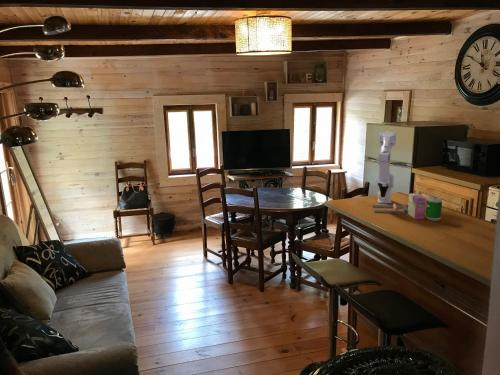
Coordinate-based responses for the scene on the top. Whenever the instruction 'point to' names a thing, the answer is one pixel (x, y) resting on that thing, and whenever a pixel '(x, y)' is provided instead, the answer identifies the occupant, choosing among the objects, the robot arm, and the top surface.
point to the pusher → (394, 207)
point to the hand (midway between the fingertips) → (382, 196)
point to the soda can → (434, 208)
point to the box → (416, 206)
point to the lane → (391, 207)
